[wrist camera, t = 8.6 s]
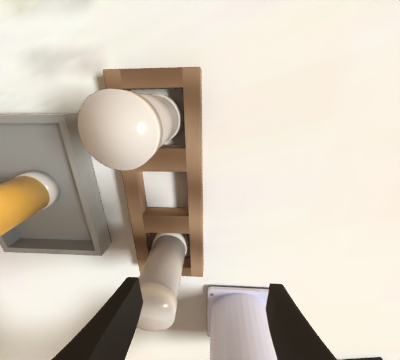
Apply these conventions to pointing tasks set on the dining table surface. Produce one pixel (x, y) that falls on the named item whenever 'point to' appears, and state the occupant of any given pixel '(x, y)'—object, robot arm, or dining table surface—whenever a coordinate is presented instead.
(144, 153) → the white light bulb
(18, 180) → the amber fuse
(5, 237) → the tray
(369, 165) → the dining table surface
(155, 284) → the cylinder
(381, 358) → the remote control
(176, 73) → the brown wooden rack
